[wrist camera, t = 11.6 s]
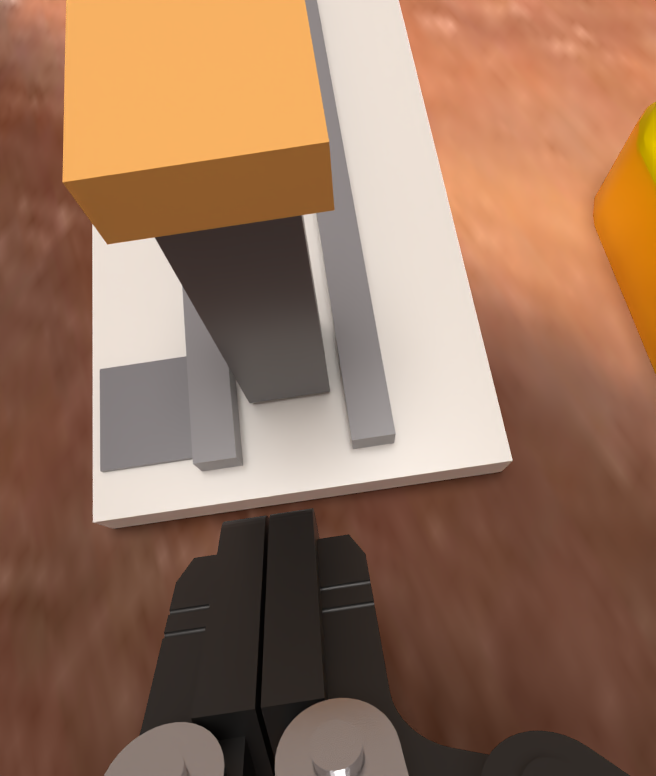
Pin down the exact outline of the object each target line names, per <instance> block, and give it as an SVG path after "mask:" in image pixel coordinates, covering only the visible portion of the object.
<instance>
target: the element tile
mask: <svg viewBox="0 0 656 776" xmlns="http://www.w3.org/2000/svg"><path fill="white" fill-rule="evenodd" d="M593 218H594V225H595V228H596V231H597V233H598V236H599V238H600V240H601V243H602V245H603V248H604V250H605V253H606V255H607V257H608V260H609V262H610V265H611V267H612V270H613V272H614V274H615V277H616V279H617V282H618V284H619V286H620V289H621V291H622V294H623V296H624V299H625V301H626V303H627V306H628V308H629V311H630V313H631V316H632V318H633V320H634V323H635V325H636V328H637V330H638V333H639V335H640V337H641V340H642V342H643V345H644V347H645V349H646V352H647V354H648V357H649V359H650V362H651V364H652V366H653V369H654V371H655V374H656V102H654V103H653V104H651V105H650V106H648V107H647V108H646V110H645V111H644V113H643V114H642V116H641V117H640V119H639V121H638V122H637V124H636V125H635V127H634V129H633V131H632V133H631V134H630V136H629V138H628V140H627V141H626V143H625V145H624V147H623V149H622V150H621V152H620V154H619V156H618V157H617V159H616V161H615V163H614V164H613V166H612V168H611V170H610V172H609V173H608V175H607V177H606V179H605V180H604V182H603V184H602V186H601V188H600V189H599V191H598V193H597V195H596V196H595V200H594V211H593Z"/></svg>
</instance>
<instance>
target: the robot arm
mask: <svg viewBox="0 0 656 776" xmlns="http://www.w3.org/2000/svg"><path fill="white" fill-rule="evenodd" d="M164 634H165V638H164V639H163V640H162V644H161V648H160V653H159V657H158V661H157V665H156V670H155V674H154V678H153V682H152V686H151V691H150V695H149V699H148V703H147V708H146V712H145V716H144V720H143V724H142V729H141V732H140V735H139V737H137V738H136V739H134V740H133V741H132V742H131V743H130V744H128V745H127V746H126V747H125V748H124V749H123V750H122V751H121V752H120V753H119V754H118V755H117V757H116V758H115V759H114V761H113V762H112V763H111V765H110V766H109V768H108V770H107V771H106V773H105V775H104V776H630V775H628V774H627V773H625V772H624V771H622V770H621V769H619V768H618V767H616V766H615V765H614V764H612V763H611V762H609V761H608V760H606V759H605V758H603V757H602V756H600V755H599V754H597V753H596V752H595V751H593V750H592V749H590V748H589V747H587V746H585V745H584V744H582V743H580V742H579V741H577V740H574V739H572V738H570V737H567V736H565V735H561V734H558V733H554V732H547V731H528V732H523V733H518V734H516V735H513V736H511V737H509V738H507V739H505V740H504V741H502V742H501V743H500V744H499V745H497V746H496V747H495V748H494V749H493V750H492V752H491V753H490V755H488V754H482V753H477V752H471V751H466V750H461V749H455V748H451V747H447V746H443V745H439V744H437V743H435V742H432V741H430V740H428V739H426V738H425V737H423V736H421V735H419V734H418V733H417V732H416V731H414V730H413V729H412V728H411V727H409V725H408V724H407V723H406V722H405V721H404V720H403V719H402V718H401V716H400V715H399V713H398V712H397V710H396V708H395V706H394V704H393V701H392V698H391V695H390V691H389V685H388V679H387V674H386V668H385V662H384V657H383V651H382V645H381V640H380V634H379V628H378V623H377V617H376V611H375V606H374V600H373V594H372V589H371V584H370V577H369V572H368V566H367V560H366V555H365V553H364V552H363V551H362V550H361V548H360V547H359V546H358V545H357V544H356V542H355V541H354V540H353V539H352V538H351V537H350V535H343V536H336V537H329V538H323V539H319V534H318V528H317V523H316V517H315V513H314V509H313V508H312V509H305V510H299V511H292V512H285V513H279V514H272V515H270V517H268V516H260V517H254V518H247V519H240V520H234V521H227V522H223V524H222V528H221V534H220V540H219V546H218V552H217V555H211V556H205V557H198V558H194V559H193V560H192V562H191V563H190V564H189V566H188V567H187V569H186V570H185V571H184V573H183V574H182V575H181V577H180V578H179V579H178V581H177V582H176V585H175V589H174V594H173V598H172V602H171V606H170V615H168V619H167V623H166V627H165V632H164Z"/></svg>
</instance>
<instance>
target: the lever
mask: <svg viewBox="0 0 656 776" xmlns="http://www.w3.org/2000/svg"><path fill="white" fill-rule="evenodd" d="M63 183H64V185H65V186H66V188H67V189H68V190H69V192H70V193H71V195H72V196H73V197H74V199H75V200H76V202H77V203H78V204H79V206H80V207H81V209H82V210H83V211H84V213H85V214H86V216H87V217H88V218H89V220H90V221H91V223H92V224H93V225H94V227H95V228H96V230H97V231H98V232H99V234H100V235H101V236H102V238H103V239H104V241H105V242H106V243H107V245H108V244H114V243H121V242H128V241H134V240H141V239H147V238H154V237H155V239H156V241H157V243H158V244H159V246H160V248H161V250H162V251H163V253H164V255H165V257H166V258H167V260H168V262H169V264H170V265H171V267H172V269H173V271H174V272H175V274H176V276H177V278H178V279H179V281H180V283H181V285H182V286H183V288H184V290H185V292H186V293H187V295H188V297H189V299H190V300H191V302H192V304H193V306H194V307H195V309H196V311H197V313H198V314H199V316H200V318H201V320H202V321H203V323H204V325H205V327H206V328H207V330H208V332H209V333H210V335H211V337H212V339H213V340H214V342H215V344H216V346H217V347H218V349H219V351H220V353H221V354H222V356H223V358H224V360H225V361H226V363H227V365H228V367H229V368H230V370H231V372H232V374H233V375H234V377H235V379H236V381H237V382H238V384H239V386H240V388H241V389H242V391H243V393H244V395H245V396H246V398H247V400H248V402H249V403H256V402H262V401H269V400H276V399H283V398H289V397H296V396H303V395H310V394H316V393H323V392H330V386H329V379H328V372H327V365H326V359H325V352H324V345H323V338H322V331H321V324H320V318H319V311H318V305H317V299H316V293H315V286H314V280H313V274H312V267H311V261H310V255H309V249H308V242H307V236H306V230H305V223H304V217H303V215H307V214H313V213H320V212H326V211H333V210H334V197H333V184H332V171H331V158H330V145H329V138H328V132H327V126H326V120H325V114H324V109H323V103H322V97H321V91H320V85H319V79H318V74H317V68H316V62H315V56H314V50H313V45H312V39H311V33H310V27H309V21H308V16H307V10H306V4H305V0H66V39H65V91H64V142H63Z"/></svg>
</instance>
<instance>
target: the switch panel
mask: <svg viewBox="0 0 656 776" xmlns="http://www.w3.org/2000/svg"><path fill="white" fill-rule="evenodd" d="M305 4H306V10H307V16H308V21H309V27H310V33H311V39H312V45H313V50H314V56H315V62H316V68H317V74H318V79H319V85H320V91H321V97H322V103H323V109H324V114H325V120H326V126H327V132H328V138H329V145H330V158H331V171H332V184H333V197H334V210H333V211H326V212H320V213H313V214H307V215H303V217H304V223H305V230H306V236H307V242H308V249H309V255H310V261H311V267H312V274H313V280H314V286H315V293H316V299H317V305H318V311H319V318H320V324H321V331H322V338H323V345H324V352H325V359H326V365H327V372H328V379H329V386H330V392H323V393H316V394H310V395H303V396H296V397H289V398H283V399H276V400H269V401H262V402H256V403H249V402H248V400H247V398H246V396H245V395H244V393H243V391H242V389H241V388H240V386H239V384H238V382H237V381H236V379H235V377H234V375H233V374H232V372H231V370H230V368H229V367H228V365H227V363H226V361H225V360H224V358H223V356H222V354H221V353H220V351H219V349H218V347H217V346H216V344H215V342H214V340H213V339H212V337H211V335H210V333H209V332H208V330H207V328H206V327H205V325H204V323H203V321H202V320H201V318H200V316H199V314H198V313H197V311H196V309H195V307H194V306H193V304H192V302H191V300H190V299H189V297H188V295H187V293H186V292H185V290H184V288H183V286H182V285H181V283H180V281H179V279H178V278H177V276H176V274H175V272H174V271H173V269H172V267H171V265H170V264H169V262H168V260H167V258H166V257H165V255H164V253H163V251H162V250H161V248H160V246H159V244H158V243H157V241H156V239H155V237H154V238H147V239H141V240H134V241H128V242H121V243H114V244H108V245H107V243H106V242H105V241H104V239H103V238H102V236H101V235H100V234H99V232H98V231H97V230H96V228H95V227H94V225H93V523H97V524H100V525H103V526H107V527H110V528H113V529H115V528H122V527H128V526H135V525H142V524H149V523H156V522H163V521H169V520H176V519H183V518H190V517H197V516H203V515H210V514H217V513H224V512H231V511H237V510H244V509H251V508H258V507H265V506H271V505H278V504H285V503H292V502H299V501H305V500H312V499H319V498H326V497H333V496H339V495H346V494H353V493H360V492H367V491H374V490H380V489H387V488H394V487H401V486H408V485H414V484H421V483H428V482H435V481H442V480H448V479H455V478H462V477H469V476H476V475H482V474H489V473H496V472H502V471H503V470H504V469H505V468H506V467H507V466H508V465H509V464H510V463H511V462H512V461H513V460H512V456H511V452H510V448H509V444H508V440H507V436H506V432H505V428H504V424H503V420H502V416H501V412H500V408H499V404H498V400H497V396H496V392H495V388H494V384H493V380H492V376H491V372H490V367H489V363H488V359H487V355H486V351H485V347H484V343H483V339H482V335H481V331H480V327H479V323H478V319H477V315H476V311H475V307H474V303H473V299H472V295H471V291H470V287H469V283H468V279H467V274H466V270H465V266H464V262H463V258H462V254H461V250H460V246H459V242H458V238H457V234H456V230H455V226H454V222H453V218H452V214H451V210H450V206H449V202H448V198H447V194H446V190H445V186H444V181H443V177H442V173H441V169H440V165H439V161H438V157H437V153H436V149H435V145H434V141H433V137H432V133H431V129H430V125H429V121H428V117H427V113H426V109H425V105H424V101H423V97H422V93H421V88H420V84H419V80H418V76H417V72H416V68H415V64H414V60H413V56H412V52H411V48H410V44H409V40H408V36H407V32H406V28H405V24H404V20H403V16H402V12H401V8H400V4H399V0H305Z"/></svg>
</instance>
